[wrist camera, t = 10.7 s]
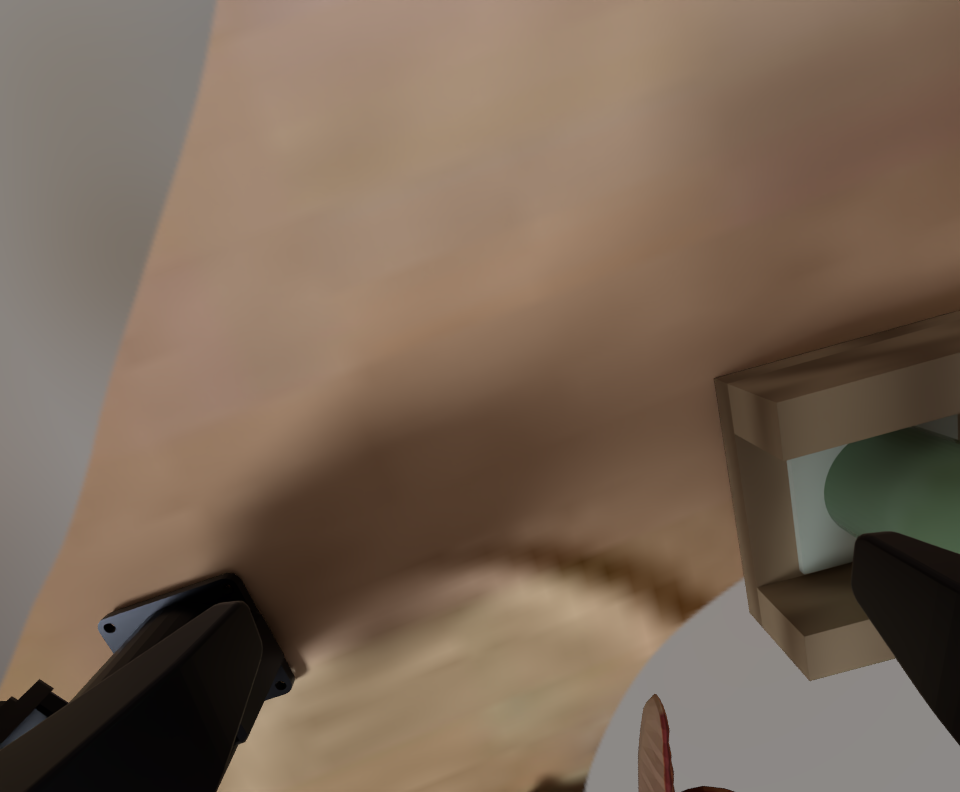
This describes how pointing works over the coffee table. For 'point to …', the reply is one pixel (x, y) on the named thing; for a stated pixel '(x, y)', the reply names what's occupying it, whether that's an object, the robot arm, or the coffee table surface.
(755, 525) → the square wooden tray
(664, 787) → the brown red lumpy cluster
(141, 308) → the coffee table surface
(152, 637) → the robot arm
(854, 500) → the bottle
